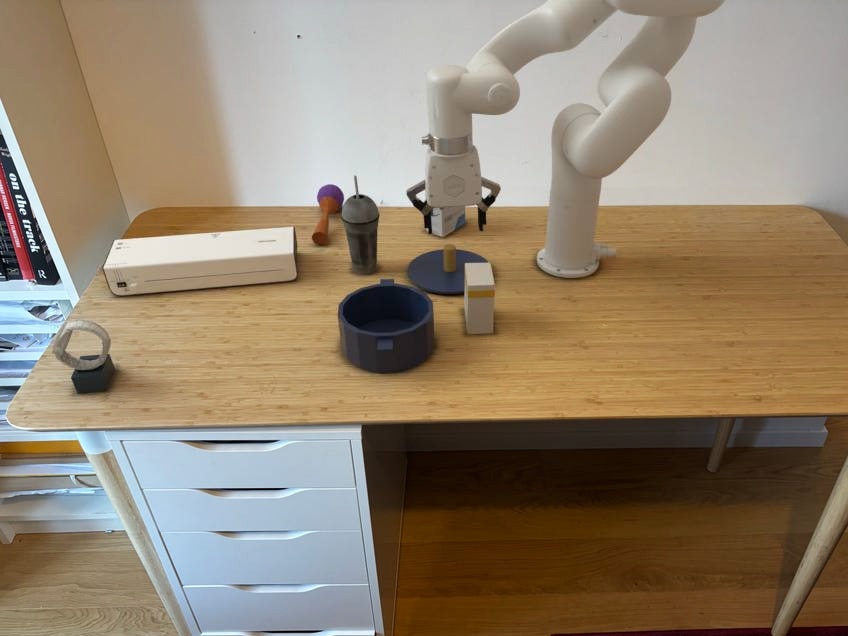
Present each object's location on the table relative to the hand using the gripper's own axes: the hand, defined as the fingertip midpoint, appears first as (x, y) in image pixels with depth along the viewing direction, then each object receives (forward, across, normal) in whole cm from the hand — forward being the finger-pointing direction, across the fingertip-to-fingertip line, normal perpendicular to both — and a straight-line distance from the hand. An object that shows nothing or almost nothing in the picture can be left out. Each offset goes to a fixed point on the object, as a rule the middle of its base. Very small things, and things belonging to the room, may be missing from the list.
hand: (455, 229), depth 136 cm
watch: (+7, -59, -30) cm, 67 cm away
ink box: (+10, -1, +20) cm, 22 cm away
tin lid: (+9, -2, 0) cm, 9 cm away
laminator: (+8, -48, +2) cm, 49 cm away
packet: (+10, +3, -17) cm, 20 cm away
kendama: (+9, -27, +23) cm, 37 cm away
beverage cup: (+9, -18, +3) cm, 21 cm away
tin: (+9, -13, -23) cm, 28 cm away
